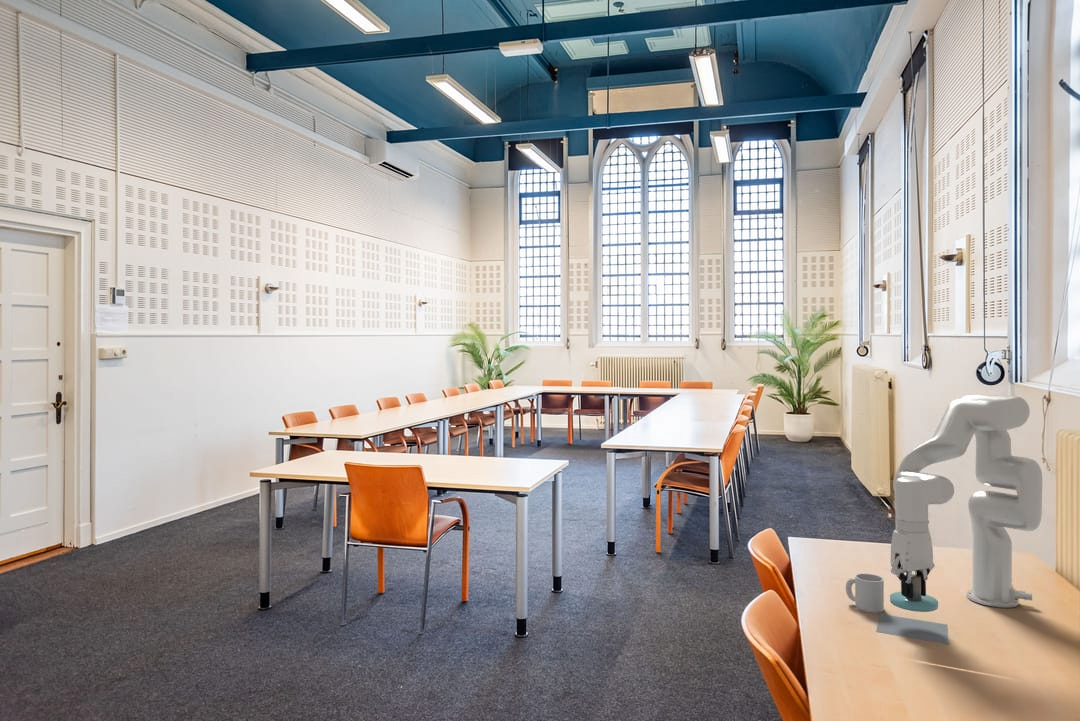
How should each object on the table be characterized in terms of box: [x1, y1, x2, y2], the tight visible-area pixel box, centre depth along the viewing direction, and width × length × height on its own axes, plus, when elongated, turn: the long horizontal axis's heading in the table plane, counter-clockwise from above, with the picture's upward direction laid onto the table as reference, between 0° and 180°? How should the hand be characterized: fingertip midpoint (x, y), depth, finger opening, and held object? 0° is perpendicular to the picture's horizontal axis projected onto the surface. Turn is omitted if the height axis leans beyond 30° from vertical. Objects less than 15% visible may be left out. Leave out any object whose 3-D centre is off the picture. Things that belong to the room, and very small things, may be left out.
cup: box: [845, 573, 885, 614], centre depth 192 cm, size 7×10×9 cm
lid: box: [889, 573, 939, 613], centre depth 177 cm, size 11×11×7 cm
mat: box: [875, 613, 950, 645], centre depth 177 cm, size 16×14×1 cm
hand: (913, 594), depth 177 cm, fingers closed on lid, 3 cm apart
